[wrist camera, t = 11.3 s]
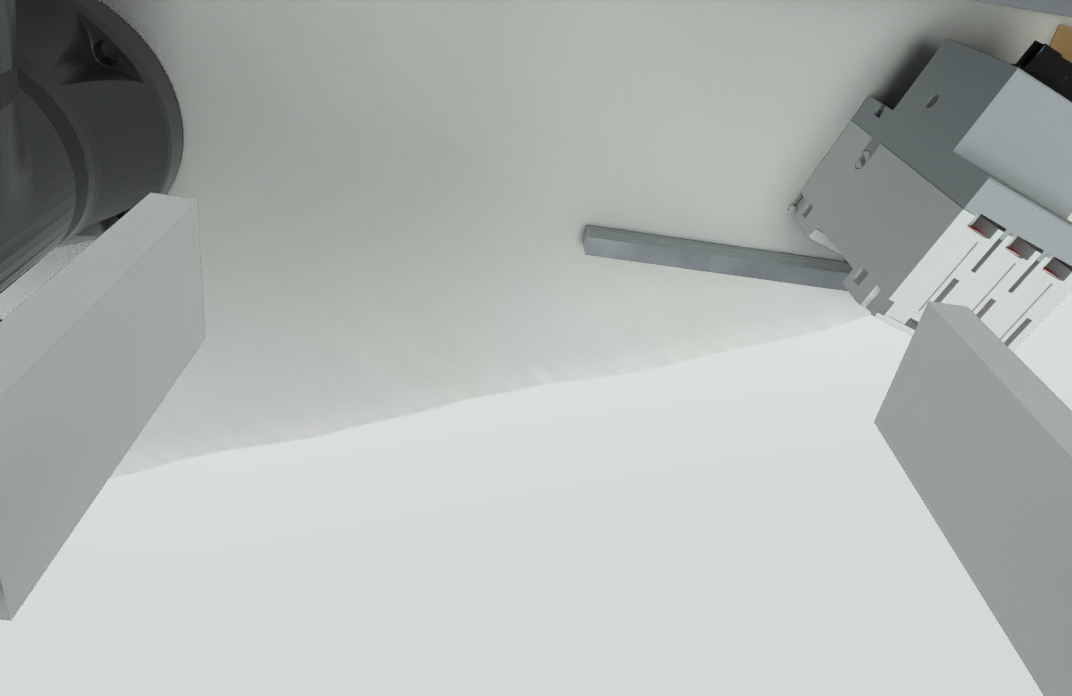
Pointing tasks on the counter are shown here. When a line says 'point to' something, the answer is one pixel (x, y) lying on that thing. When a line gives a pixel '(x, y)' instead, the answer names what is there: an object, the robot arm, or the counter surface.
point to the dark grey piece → (741, 259)
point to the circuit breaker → (955, 193)
